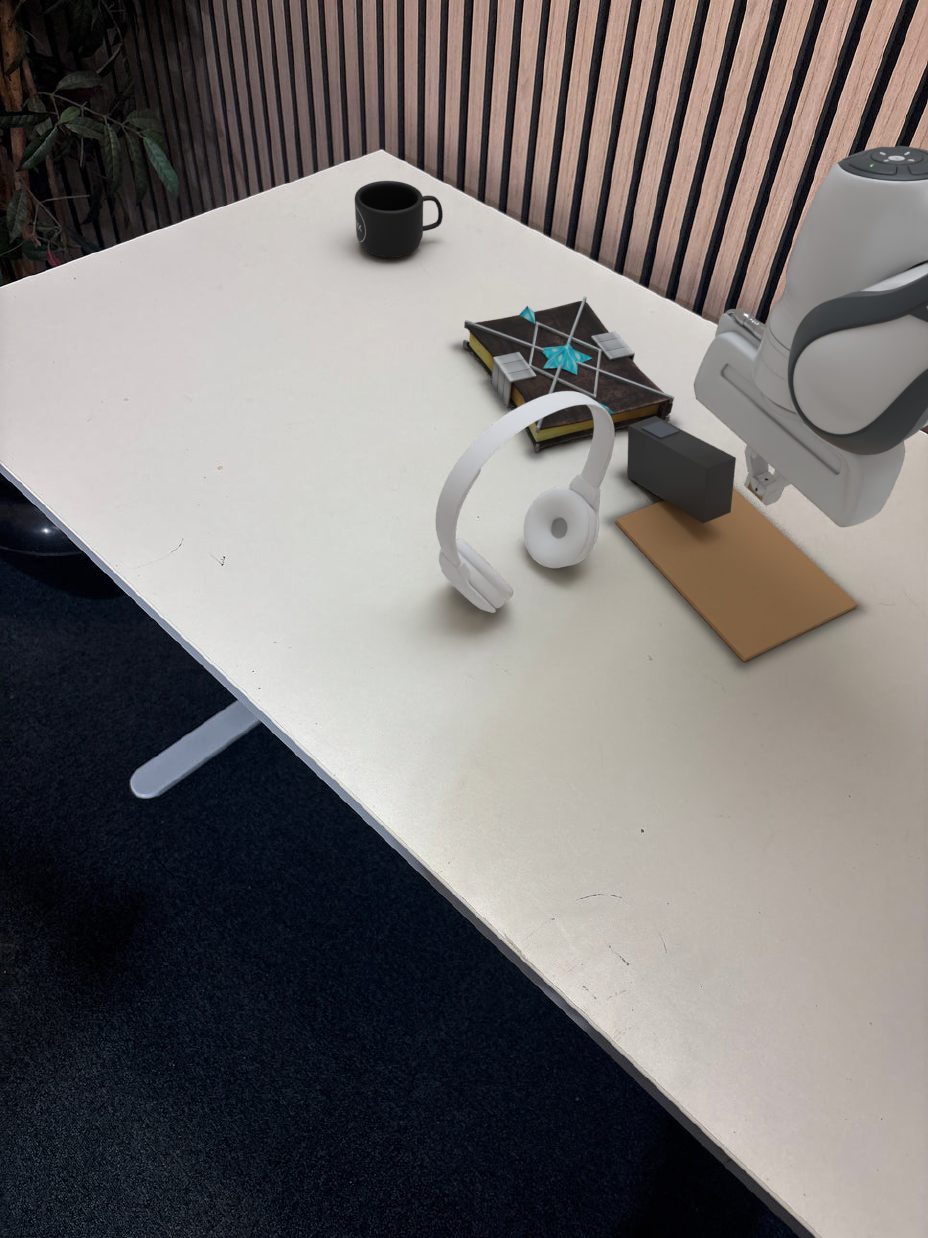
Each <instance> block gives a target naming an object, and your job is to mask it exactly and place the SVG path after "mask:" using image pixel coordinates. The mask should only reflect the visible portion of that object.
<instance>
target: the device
mask: <svg viewBox="0 0 928 1238" xmlns="http://www.w3.org/2000/svg"><path fill="white" fill-rule="evenodd" d="M627 431H628V432H627V469H626V471H627V475H626V477H627V479H630V480H631V481H632V482H634V483H636V484H638V485H639V486H641V487H643V488H644V489H645V490H648V491H649V492H650V493H652V494H654V495H656V496H657V497H659V498H660V499H662V500H665V501H667V502H669V503H670V504H672V505H673V506H675V507H677V508H678V509H680V510H682V511H683V512H685V513H686V514H688V515H690V516H691V517H693V518H695V519H696V520H698V521H699V522H701V523H703V524H704V523H706V522H709V521H711V520H713V519H716V518H718V517H721V516H723V515H726V514H728V513H730V512H731V503H732V493H733V488H734V481H735V472H736V463H737V457H735V456H734V455H732V454H729V453H728V452H726V451H724V450H722V449H720V448H718V447H717V446H715V445H712V444H710V443H709V442H707V441H704V440H703V439H701V438H698V437H697V436H695V435H694V434H691V433H689V432H687V431H685V430H683V429H681V428H680V427H677V426H676V425H673V424H672V423H671V422H669V421H668V422H666V421H664V420H662V419H660V418H658V417H656V416H654V417H651V418H648V419H645V420H642V421H640V422H637V423H634V424H631V425H628V427H627Z"/></svg>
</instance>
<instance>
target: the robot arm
mask: <svg viewBox="0 0 928 1238" xmlns="http://www.w3.org/2000/svg"><path fill="white" fill-rule="evenodd" d="M784 284H785V285H784V289H783V291H782V294H781V296H780V298H778V300H777V301H776V303H775V304H774V305H773V307H772V309H771V311H770V313H769V316H768V319H767V323H766V324H765V323H763V322H761V321H760V320H758V319H756V318H755V317H754V316H753V314H752V313H751V312H749V310H747V309H745V308H742V307H740V308H737V309H735V308H730V309H727V310H726V311H724V313H722V315H721V316H720V317H719V320H718V323H717V327H716V330H715V334H714V338H713V340H712V341H711V342H710V344H709V345H708V347H707V350H706V352H705V354H704V356H703V358H702V360H701V362H700V365H699V367H698V369H697V372H696V375H695V378H694V381H693V391H694V395H695V396H694V397H695V399H696V400H697V401H698V402H699V403H700V404H701V406H703V407H704V408H705V409H707V410H708V411H709V412H710V413H711V414H712V415H713V416H714V417H716V419H718V420H719V421H720V422H721V423H722V424H723V425H724V426H725V427H727V428H728V429H729V430H730V431H731V432H733V434H735V435H736V436H737V437H738V438H739V439H740V440H741V441H742V442H743V443H745V444H746V446H745V449H744V457H745V462H746V470H747V476H746V478H745V481H744V483H743V486H744V487H745V488H746V489H747V490H748V491H750V493H751V494H753V495H754V497H756V498H757V499H758V500H759V501H760V502H761V503H762V504H763V505H764V506H766V507H767V506H770V505H772V504H775V503H777V502H778V501H779V500H780V499H781V497H782V494H783V492H784V490H785V488H787V487H789V486H790V485H792V486H793V487H794V489H796V490H797V491H798V492H799V493H800V494H802V496H803V497H805V498H806V499H807V501H809V502H811V503H812V504H813V505H814V507H816V508H817V509H818V510H819V511H821V512H822V513H823V514H824V515H825V516H826V517H827V518H828V519H830V521H832V522H833V523H834V524H835V525H836V526H837V527H839V528H849V527H853V526H858V525H860V524H862V523H865V522H867V521H869V520H871V519H873V518H874V517H876V516H877V515H879V514H880V513H881V511H882V510H883V509H884V507H885V505H886V503H887V502H888V500H889V498H890V496H891V493H892V491H893V490H894V487H895V485H896V483H897V481H898V478H899V476H900V474H901V471H902V468H903V466H904V461H905V458H906V446H905V441H907V440H908V439H910V438H912V437H913V436H914V435H916V434H917V433H918V432H920V431H921V430H922V429H923V428H925V427H927V426H928V149H924V148H920V147H912V146H904V145H897V146H879V147H873V148H870V149H866V150H861V151H859V152H856V153H853V154H850V155H848V156H846V157H844V158H842V159H841V160H839V161H838V162H836V163H835V164H833V166H831V168H830V169H829V171H828V172H827V173H826V175H825V176H824V177H823V179H822V181H821V183H820V184H819V187H818V188H817V189H816V192H815V194H814V195H813V198H812V200H811V202H810V204H809V206H808V208H807V211H806V213H805V216H804V218H803V220H802V223H801V225H800V228H799V231H798V233H797V235H796V238H795V241H794V243H793V246H792V249H791V252H790V255H789V258H788V260H787V264H786V270H785V283H784ZM769 466H770V467H771V468H773V470H774V472H773V473H771V472H770V471H769Z"/></svg>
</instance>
